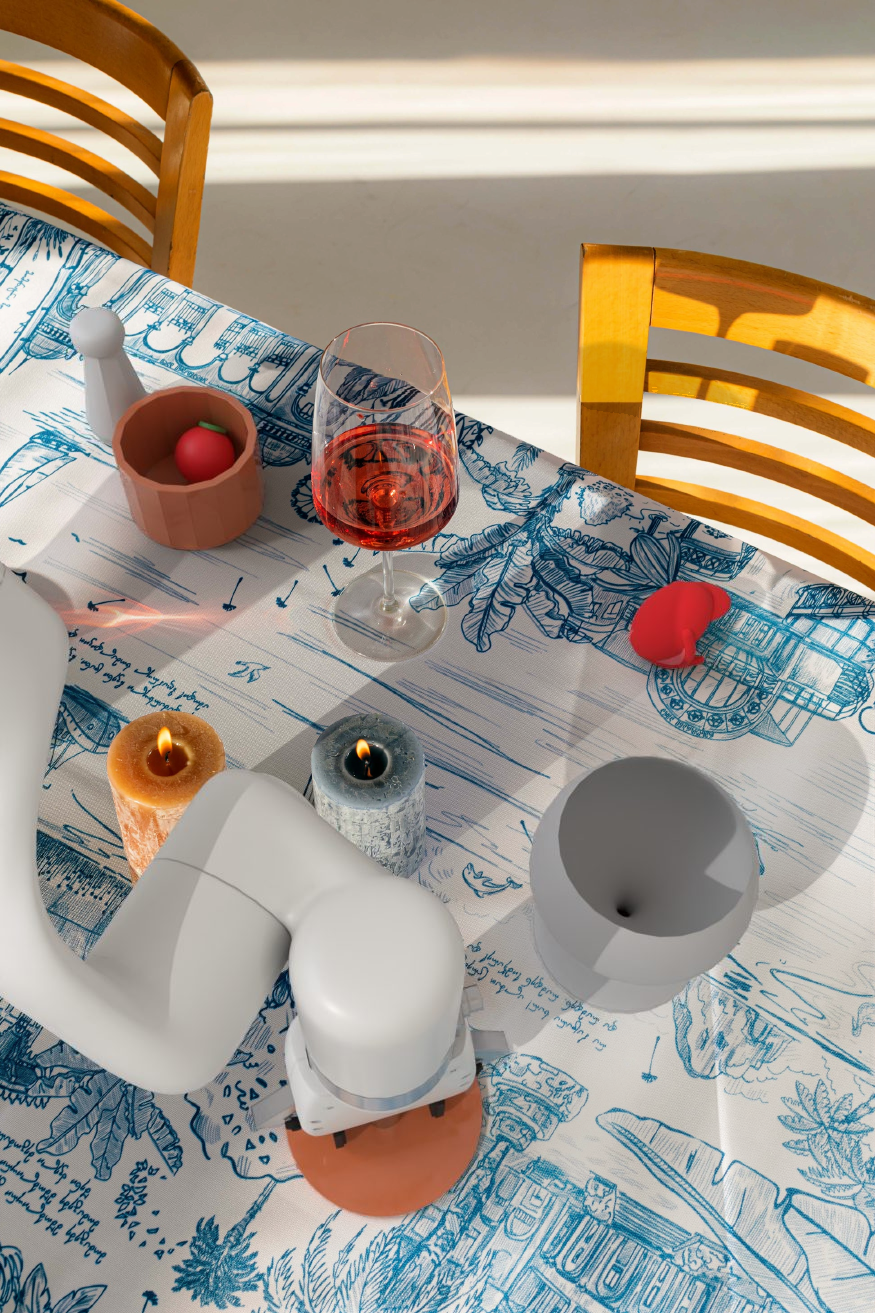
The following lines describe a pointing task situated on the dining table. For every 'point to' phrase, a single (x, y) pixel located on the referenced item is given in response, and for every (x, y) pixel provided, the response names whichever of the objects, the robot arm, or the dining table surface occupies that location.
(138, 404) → the pot
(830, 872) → the dining table surface
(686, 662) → the cap
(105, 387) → the salt shaker
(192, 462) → the tomato
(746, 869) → the chalice
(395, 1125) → the lid
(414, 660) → the dining table surface
